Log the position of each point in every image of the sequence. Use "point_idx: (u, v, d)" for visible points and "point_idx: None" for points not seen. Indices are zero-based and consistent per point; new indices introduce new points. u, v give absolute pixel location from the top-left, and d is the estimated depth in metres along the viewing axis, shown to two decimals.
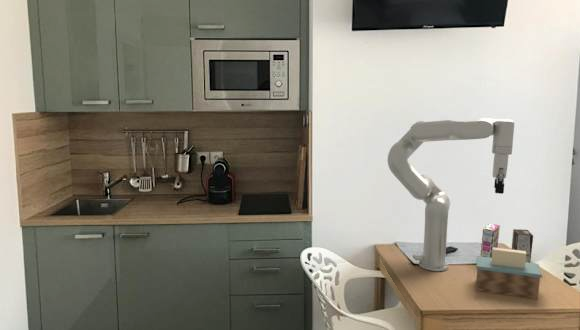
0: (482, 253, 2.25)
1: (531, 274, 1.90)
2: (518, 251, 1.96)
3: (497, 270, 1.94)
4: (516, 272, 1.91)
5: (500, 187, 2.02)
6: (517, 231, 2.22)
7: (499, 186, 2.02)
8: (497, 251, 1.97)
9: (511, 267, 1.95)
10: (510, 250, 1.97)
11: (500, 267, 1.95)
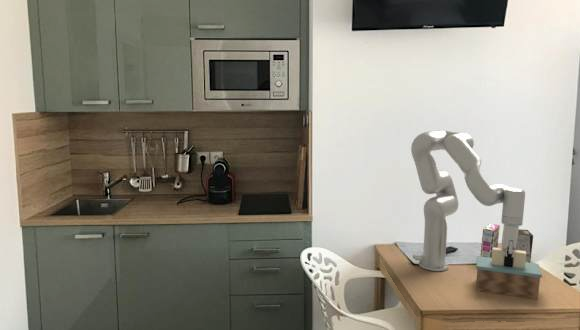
0: (482, 253, 2.25)
1: (531, 274, 1.90)
2: (518, 251, 1.96)
3: (497, 270, 1.94)
4: (516, 272, 1.91)
5: (509, 261, 1.95)
6: None
7: (508, 259, 1.95)
8: (497, 251, 1.97)
9: (511, 267, 1.95)
10: None
11: (500, 267, 1.95)
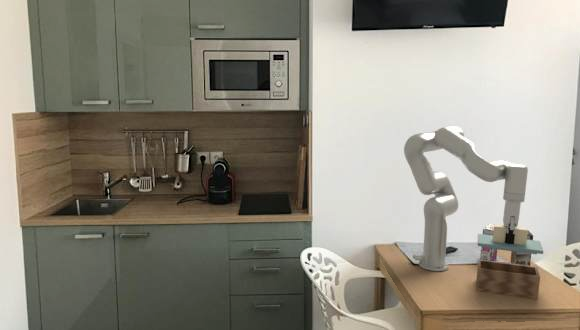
0: (482, 253, 2.25)
1: (532, 250, 1.88)
2: (519, 228, 1.94)
3: (498, 247, 1.92)
4: (517, 249, 1.90)
5: (510, 237, 1.93)
6: None
7: (509, 236, 1.93)
8: (498, 228, 1.96)
9: (513, 244, 1.94)
10: None
11: (501, 244, 1.94)
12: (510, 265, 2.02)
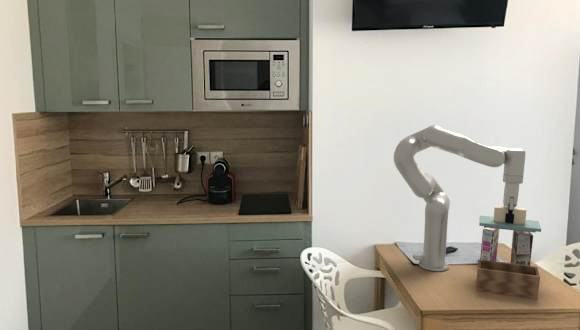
0: (482, 253, 2.25)
1: (531, 229, 2.01)
2: (519, 208, 2.07)
3: (499, 226, 2.05)
4: (517, 227, 2.02)
5: (510, 217, 2.06)
6: (517, 231, 2.22)
7: (509, 216, 2.06)
8: (499, 209, 2.08)
9: None
10: None
11: (502, 223, 2.06)
12: (510, 265, 2.02)
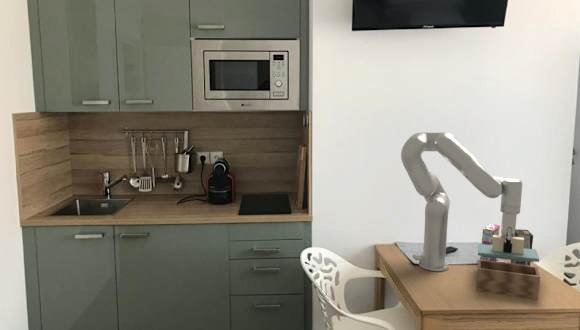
0: None
1: (529, 259, 2.03)
2: (516, 238, 2.09)
3: (497, 256, 2.07)
4: (515, 257, 2.05)
5: (508, 247, 2.08)
6: (517, 231, 2.22)
7: (507, 245, 2.08)
8: (497, 238, 2.10)
9: (510, 253, 2.08)
10: None
11: (500, 253, 2.08)
12: (510, 265, 2.02)
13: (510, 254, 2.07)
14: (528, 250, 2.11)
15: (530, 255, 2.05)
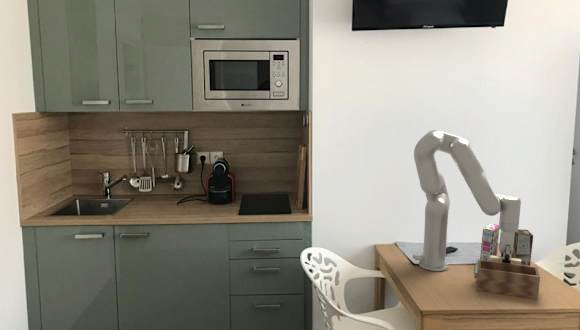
0: (482, 253, 2.25)
1: None
2: (514, 259, 2.11)
3: None
4: None
5: None
6: (517, 231, 2.22)
7: (505, 262, 2.06)
8: (494, 259, 2.12)
9: None
10: None
11: None
12: (510, 265, 2.02)
13: None
14: None
15: None
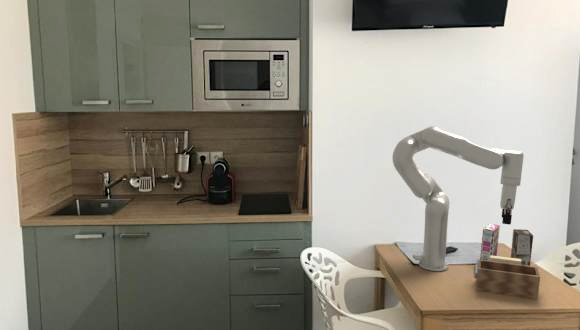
0: (482, 253, 2.25)
1: None
2: (514, 259, 2.11)
3: None
4: None
5: (507, 218, 2.04)
6: (517, 231, 2.22)
7: (506, 217, 2.04)
8: (494, 259, 2.12)
9: None
10: (506, 258, 2.12)
11: None
12: (510, 265, 2.02)
13: None
14: None
15: None
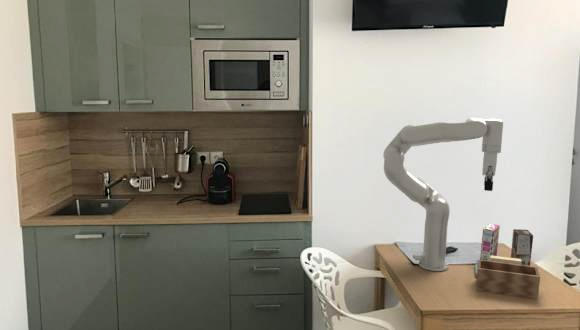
0: (482, 253, 2.25)
1: None
2: (514, 259, 2.11)
3: None
4: None
5: (489, 185, 2.08)
6: (517, 231, 2.22)
7: (488, 183, 2.08)
8: (494, 259, 2.12)
9: None
10: (506, 258, 2.12)
11: None
12: (510, 265, 2.02)
13: None
14: None
15: None
